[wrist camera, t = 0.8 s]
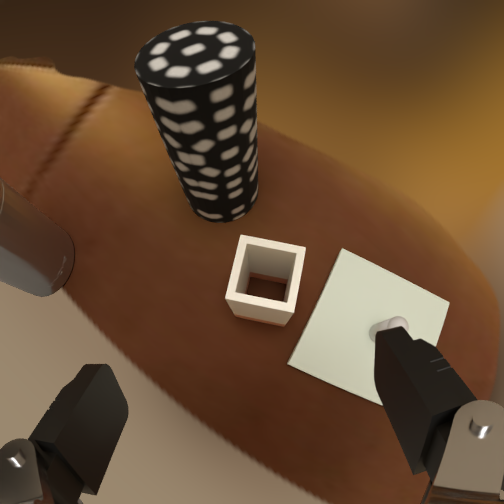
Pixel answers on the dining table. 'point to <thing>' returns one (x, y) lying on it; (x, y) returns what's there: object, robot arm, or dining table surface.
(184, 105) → the spotted tube
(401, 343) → the robot arm
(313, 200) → the dining table surface
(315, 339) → the pin board
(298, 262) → the sleeve
